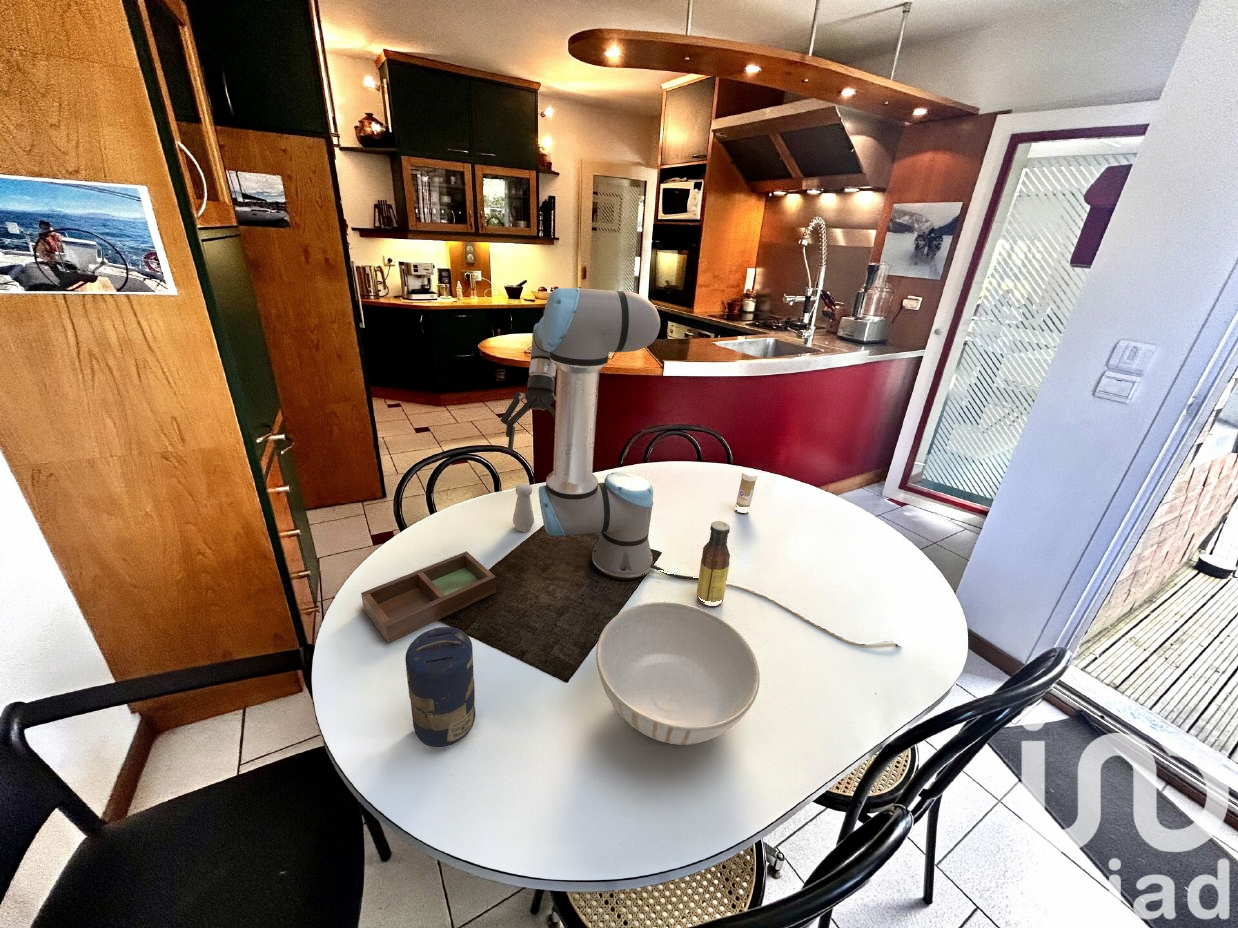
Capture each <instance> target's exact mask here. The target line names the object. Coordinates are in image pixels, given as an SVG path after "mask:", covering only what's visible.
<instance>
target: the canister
mask: <svg viewBox="0 0 1238 928" xmlns="http://www.w3.org/2000/svg"><path fill="white" fill-rule="evenodd" d="M473 648H474V647H473V643H472V640H471V638H470V636H469V635H468V634H467V633H466V632H465V631H464V630H462V629H460V628H458V627H457V628H456V627H453V626H441V627H435V628H432V629H429V630H426V631H424V632H422V633H420V634H419V635H418V636H417V637H416V638H414V639H413V640H412V642H411V643H410V644H409V645H408V648H407V649H406V653H405V658H404V659H405V670H406V678H407V687H408V688H407V689H408V697H409V701H410V708H411V709H410V710H411V717H412V727H413V730H414V735H415V736H416V738H417V739H418V741H420V743H422V744H423V745H425V746H428V747H430V748H437V749H440V748H441V749H442V748H448V747H451V746H453V745H455V744H457V743H459V742H461V740H463V739H464V738H465V737H467V735H468V734H469V733H470V731H471V730H472V728H473V726H474V724H475V720H476V716H477V715H476V713H477V712H476V705H475V701H476V700H475V699H476V698H475V697H476V693H475V691H476V690H475V689H476V687H475V675H474V672H475V671H474V652H473Z"/></svg>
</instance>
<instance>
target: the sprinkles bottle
mask: <svg viewBox="0 0 1238 928" xmlns="http://www.w3.org/2000/svg"><path fill="white" fill-rule="evenodd" d="M740 479H741V480H740V484H739V488H738V492H737V496H736V501H735V502H736V503H735V505H736V504H737V505H738V506H739V507H750V508H751V504H752V500H753V496H754V491H755V486H756V483H757V480H758V472H756V471H754V470H752V469H743V470H742V472H741V478H740Z"/></svg>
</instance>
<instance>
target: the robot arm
mask: <svg viewBox="0 0 1238 928" xmlns="http://www.w3.org/2000/svg"><path fill="white" fill-rule="evenodd" d="M660 329H661V318H660V315H659V312H658V310H657V308H656V306H655V305H654V304H653V303H652V302H651V301H650V300H649V299H647V298H646V297H645V296H643V295H641V294H638V293H635V292H633V291H627V290H609V289H608V290H607V289H596V288H595V289H594V288H583V287H560V288H555V289H554V290H552V291H551V292H550V293H549V295H548V298H547V300H546V303H545V307H544V311H543V316H542V317H541V318H540V320H539V322H537V323H535V324H534V326H533V331H532V334H531V337H532V339H531V352H530V360H529V367H528V375H529V376H528V378H527V387H526V392H525V393H523V392H520V391H518V390H517V391H515V392H514V396H513V399H512V401H511V402H510V404H509V406H508V407H507V409H506V410H505V412H504V413H503V415H502V416H501V418H500V423H502V424H503V425H505V426H506V429H505V437H506V438H508V444H507V449H508V450H510V451H513V450H514V441H515V434H516V433H515V432H516V427H515V426H514V425H515V424H516V423H517V422H518V421H520V420H521V418H522V417H524V416H525V414H526V413H527V412H529V411H530V410H531V409H532V410H534V411H539V410H540V411H543V412H544V411H547V410H548V411H549V413H550V414H551V415H552V416H553V418H554V423H555V424H554V443H553V444H554V445H553V470H552V471H551V472H550V473H549V474H548V475H547V477H546V479H545V484H544V485H540V486H539V487H538V499H539V507H540V512H541V517H542V523H543V527H544V530H545V533H547V535H548V536H550V537H561V536H562V537H568V536H576V535H577V536H578V535H587V534H588V535H589V534H599V533H600V534H599V536H598V537H597V539H596V542H595V545H594V547H593V548H592V552H591V565H592V566H593V568H594V570H595V571H596V572H598V573H599V574H600V575H602V576H604V577H606V578H609V579H612V580H616V581H634V580H638V579H642V578H643V577H645V576H646V575H648V574H649V573H650V572H651V570H652V569H653V570H655V569H656V570H655V571H658V570H663V571H664V570H665V569H664V568H662V567H660V566H657V565H655V564H653V561H654V559H653V553H652V551H651V545H650V541H649V540H650V539H649V533H650V526H651V518H652V512H653V506H654V487H653V486H652V484H651V483H650V482H649V481H648V480H646V479H645V478H643V477H641V476H639V475H637V474H634V473H630V472H624V471H614V472H611V473H608V474H607V475H606V476H605V478H604V482H599V479H598V477H596V475H595V474H594V473H593V467H594V466H593V465H594V455H595V454H594V451H595V438H596V427H597V426H596V425H597V411H598V399H599V397H598V396H599V384H600V373H601V372H600V371H601V370H602V369H603V368H604V367H605V366H607V365H608V364H609V355H610V353H630V352H636V351H641V350H643V349H645V348H648V347H649V346H651V345H652V344H653V343H654V342H655V340H656V339H657V337H658V335H659V332H660ZM555 378H556V380H555ZM555 385H556V386H555ZM524 399H525V400H526V402H525V403H524V404H523V405H522V407H521V408H519V409H518V410H517V411H516V412H515V410H516V409H517V407H518V406H519V404H520V403H521V401H523V400H524ZM554 402H555V409H554V407H553V406H552V405H553V403H554ZM514 412H515V413H514ZM659 572H660V573H662V574H664V575H666V576H667V577H671V578H674V579H679V580H684V581H685V580H686V581H696V582H698V579H699V578H693V577H694V576H689V575H683V574H677V573H673V574H667V573H664V572H661V571H659ZM644 573H645V574H644ZM642 574H643V575H642ZM674 574H675V575H674Z"/></svg>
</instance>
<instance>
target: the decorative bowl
mask: <svg viewBox="0 0 1238 928" xmlns="http://www.w3.org/2000/svg"><path fill="white" fill-rule="evenodd" d="M599 635H600V636H599V637H598V640H597V644H596V651H595V660H596V668H597V673H598V676H599V679H600V682H601V685H602V687H603V690H604V692H605V694H606V696H607V699H609V701H610V703H611V705H612V706H613V708H614V709H615V710H616V711H617V713H618V714H619V715H620V716H621V717H622V718H623V719H624V720H625V721H626V722H627V723H628V724H629V725H630V726H631V727H632V728H633V729H634V730H637V732H640V733H641V734H643V735H645V736H647V737H649V738H651V739H653V740H655V741H659V742H661V743H664V744H665V743H666V744H670V745H681V746H683V745H687V746H688V745H696V744H700V743H704V742H707V741H711V740H713V739H715V738H718V737H719V736H721V735H723V734H725V733H726V732H727V731H729V730H730V729H732V728H733V727H734V726H736V725H737V724H738V723H739V722H740V721H741V720H742V718H744V716H745V715H746V714H747V713H748V712H749V710H750V709H751V707H752V706H753V704H754V702H755V700H756V698H757V696H758V692H759V690H760V689H759V688H760V681H761V680H760V678H761V676H760V668H759V664H758V661H757V658H756V656H755V653H754V652H753V650H752V648H751V646H750V645H749V643H748V642H747V640H746V639H745V638H744V636H742V634H741V633H740V632H739V631H737V630H736V629H735V628H734V626H732V625H730V623H728V622H726V621H725V620H724V619H722V618H721V617H718V616H717V615H715V614H713V613H712V612H709V611H707V610H705V609H702V608H700V607H697V606H693V605H690V604H685V603H681V602H672V601H654V602H645V603H641V604H638V605H634V606H632V607H630V608H627V609H624V610H623V611H621V612H619V613H618V614H616V615H615V616H614V617H613V618H612V619H610V621H609V622H608V623H607V624H606V625H605V627H604V628H603V629H602V631H601V633H600V634H599Z"/></svg>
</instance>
